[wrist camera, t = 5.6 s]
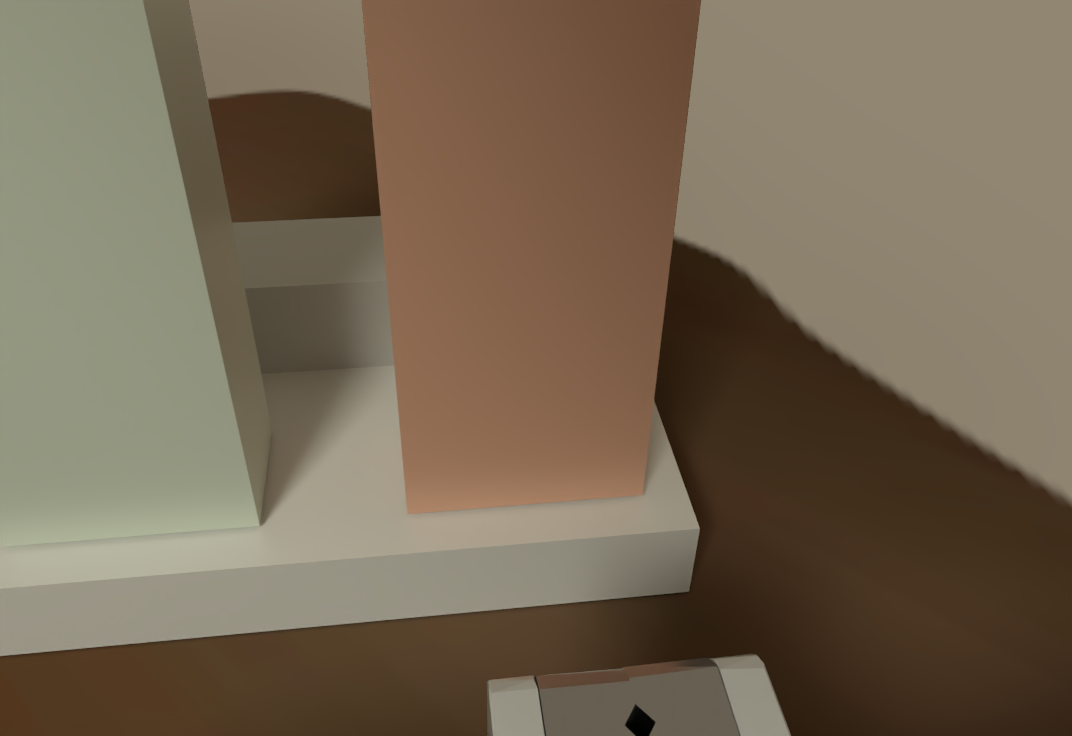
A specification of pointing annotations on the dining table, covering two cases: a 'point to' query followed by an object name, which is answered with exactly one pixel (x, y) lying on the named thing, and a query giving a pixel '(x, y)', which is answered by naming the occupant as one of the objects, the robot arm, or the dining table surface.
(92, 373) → the pale green tall block
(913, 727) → the dining table surface
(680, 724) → the robot arm
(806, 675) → the dining table surface
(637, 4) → the orange-brown upright block
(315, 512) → the tile board
